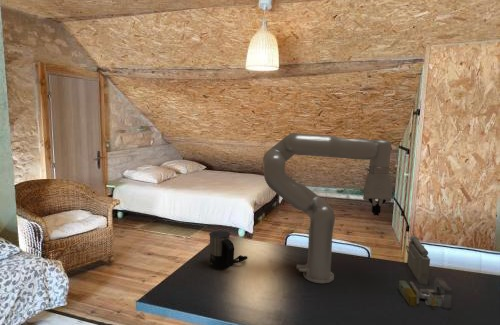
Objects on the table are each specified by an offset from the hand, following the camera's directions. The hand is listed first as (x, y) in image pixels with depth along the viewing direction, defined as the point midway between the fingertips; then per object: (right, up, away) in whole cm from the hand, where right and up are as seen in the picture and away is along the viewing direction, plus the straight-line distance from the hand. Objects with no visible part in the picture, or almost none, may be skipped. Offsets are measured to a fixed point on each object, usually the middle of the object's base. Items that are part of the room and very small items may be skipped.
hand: (375, 214), depth 136 cm
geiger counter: (+21, -27, +11) cm, 35 cm away
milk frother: (-61, -25, +13) cm, 67 cm away
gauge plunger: (+14, -29, -15) cm, 36 cm away
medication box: (+7, -30, -12) cm, 32 cm away
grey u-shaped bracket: (+16, -30, -14) cm, 37 cm away
